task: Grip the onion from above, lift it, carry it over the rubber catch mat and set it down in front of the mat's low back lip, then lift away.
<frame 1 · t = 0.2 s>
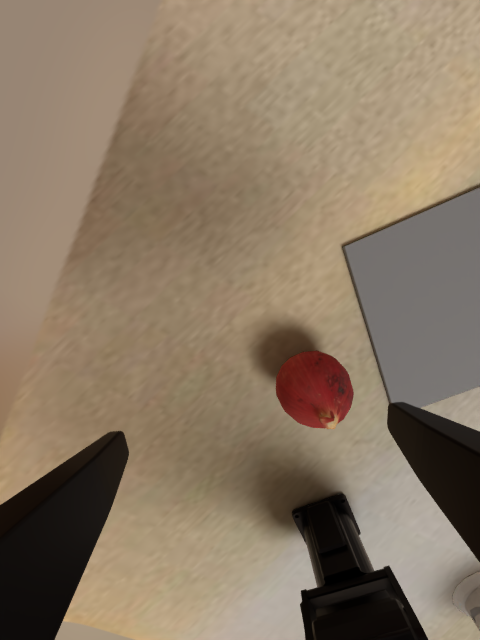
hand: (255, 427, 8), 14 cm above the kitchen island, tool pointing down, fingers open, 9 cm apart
onion: (299, 365, 22), on the kitchen island
catch mat: (455, 305, 21), on the kitchen island
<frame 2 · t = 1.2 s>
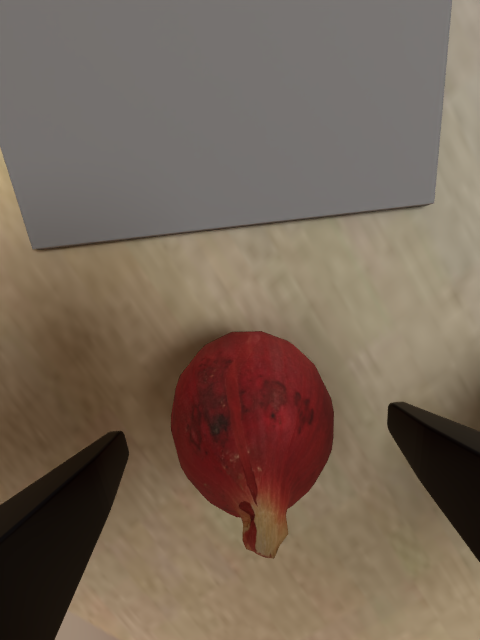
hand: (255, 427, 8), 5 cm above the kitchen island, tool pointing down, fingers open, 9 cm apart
onion: (246, 364, 13), on the kitchen island
catch mat: (206, 2, 9), on the kitchen island
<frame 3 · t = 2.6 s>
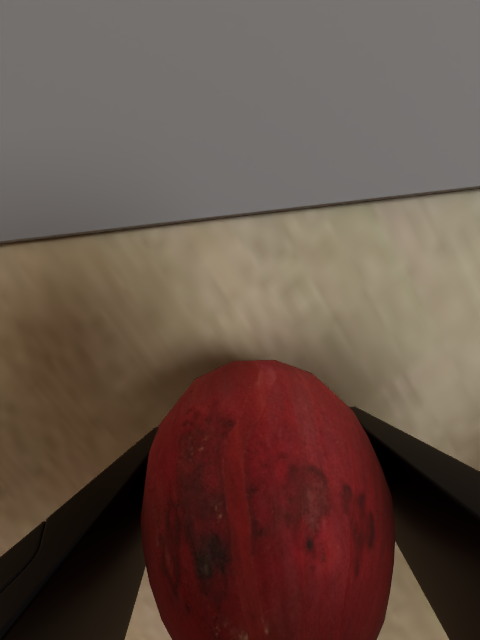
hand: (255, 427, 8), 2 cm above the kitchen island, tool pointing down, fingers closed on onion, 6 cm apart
onion: (251, 391, 10), on the kitchen island, touching gripper
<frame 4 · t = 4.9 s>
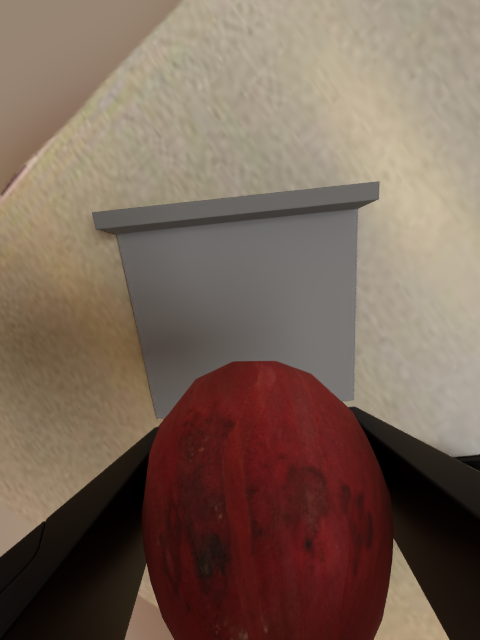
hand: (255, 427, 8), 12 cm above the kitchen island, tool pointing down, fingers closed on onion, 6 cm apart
onion: (251, 391, 10), point 10 cm above the kitchen island, touching gripper
catch mat: (246, 323, 19), on the kitchen island
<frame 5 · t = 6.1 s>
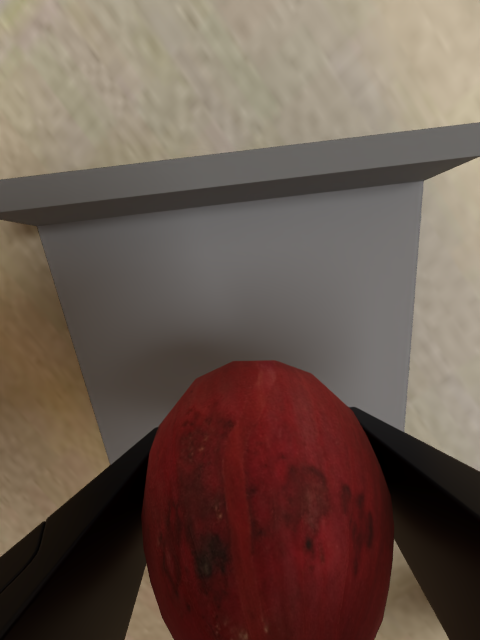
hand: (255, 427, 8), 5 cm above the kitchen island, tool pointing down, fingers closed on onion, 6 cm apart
onion: (251, 391, 10), point 3 cm above the kitchen island, touching gripper
catch mat: (245, 359, 13), on the kitchen island
when the fingers open (4 cm above the kitchen island, at t = 7.3 s): onion drops 1 cm, resting on catch mat.
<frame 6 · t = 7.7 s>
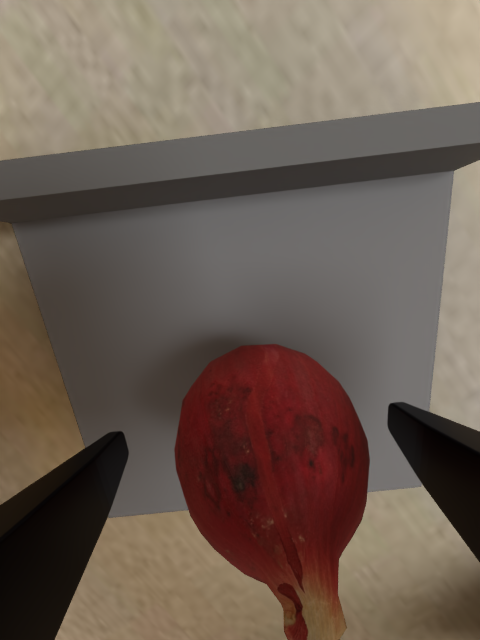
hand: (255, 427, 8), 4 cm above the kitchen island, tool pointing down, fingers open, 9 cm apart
onion: (251, 374, 11), resting on catch mat
catch mat: (249, 372, 12), on the kitchen island
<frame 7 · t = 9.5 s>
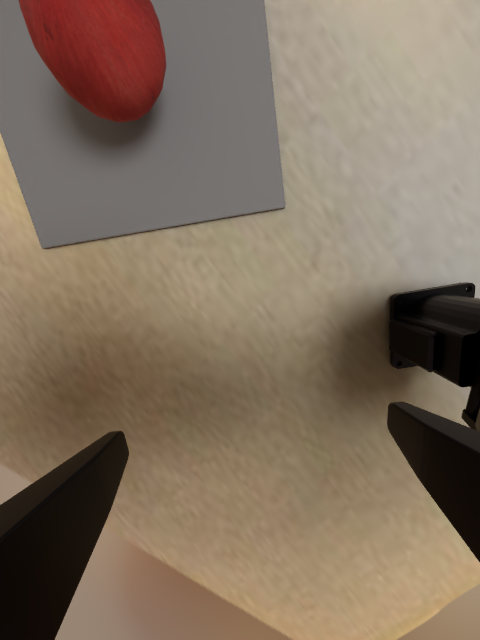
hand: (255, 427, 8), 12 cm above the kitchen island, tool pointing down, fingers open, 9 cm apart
onion: (135, 97, 15), resting on catch mat
catch mat: (135, 100, 15), on the kitchen island
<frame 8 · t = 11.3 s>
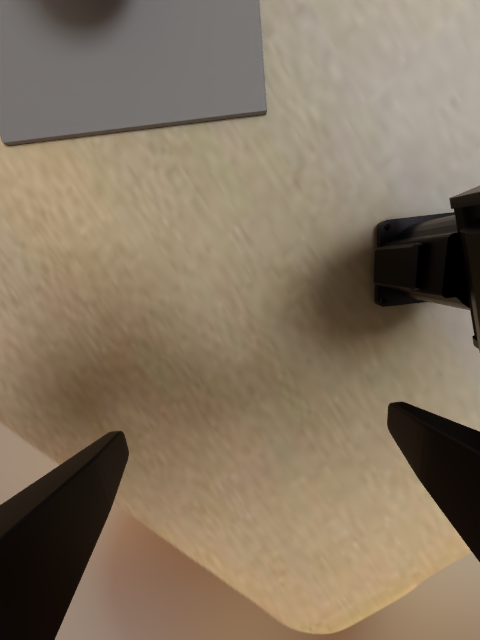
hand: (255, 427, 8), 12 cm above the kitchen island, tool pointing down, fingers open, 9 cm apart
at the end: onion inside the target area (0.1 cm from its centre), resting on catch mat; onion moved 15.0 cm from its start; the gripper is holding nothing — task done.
